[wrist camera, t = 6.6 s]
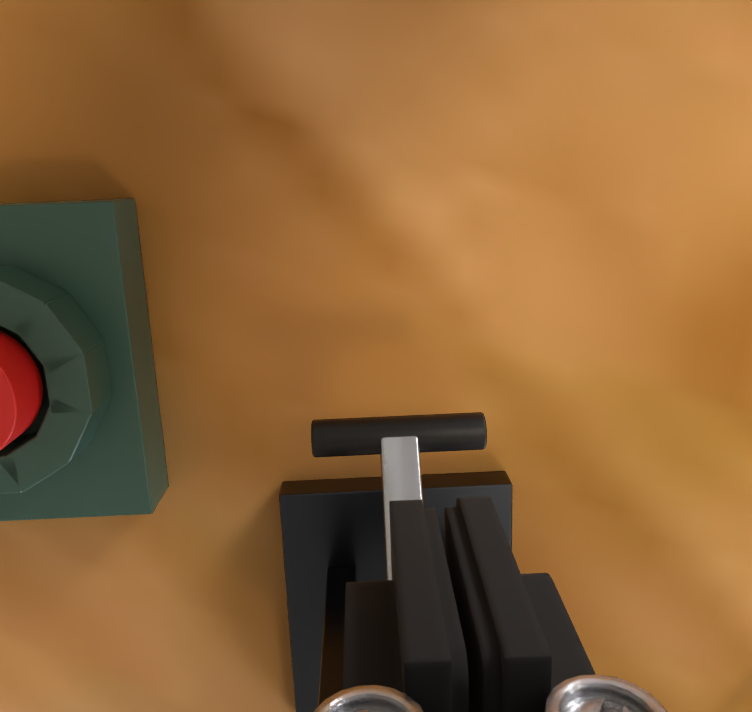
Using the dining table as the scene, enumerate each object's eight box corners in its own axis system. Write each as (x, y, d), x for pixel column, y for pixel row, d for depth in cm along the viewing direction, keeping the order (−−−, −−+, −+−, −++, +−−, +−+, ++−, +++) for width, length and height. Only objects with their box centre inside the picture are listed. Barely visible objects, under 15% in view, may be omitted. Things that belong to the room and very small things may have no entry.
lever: (315, 431, 22) (308, 408, 20) (476, 424, 22) (487, 400, 20) (323, 898, 18) (315, 934, 16) (524, 886, 18) (545, 921, 16)
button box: (-118, 208, 23) (-213, 215, 19) (135, 198, 23) (91, 203, 19) (-59, 496, 25) (-133, 555, 22) (169, 486, 26) (136, 542, 22)
